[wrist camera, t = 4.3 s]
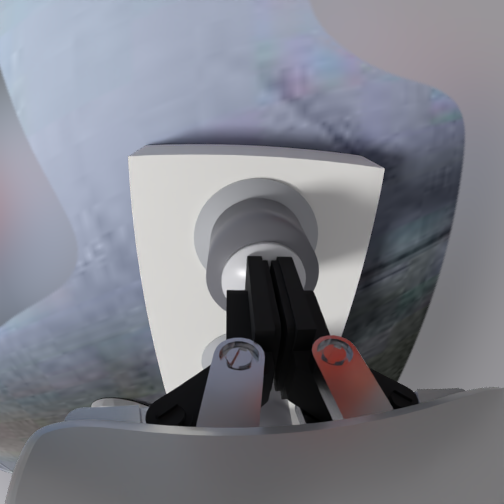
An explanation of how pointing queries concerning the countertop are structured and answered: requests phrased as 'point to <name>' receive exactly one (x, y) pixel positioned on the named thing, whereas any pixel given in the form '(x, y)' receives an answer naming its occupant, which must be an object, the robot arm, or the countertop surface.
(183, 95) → the countertop surface
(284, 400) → the knob middle
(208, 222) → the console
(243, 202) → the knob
